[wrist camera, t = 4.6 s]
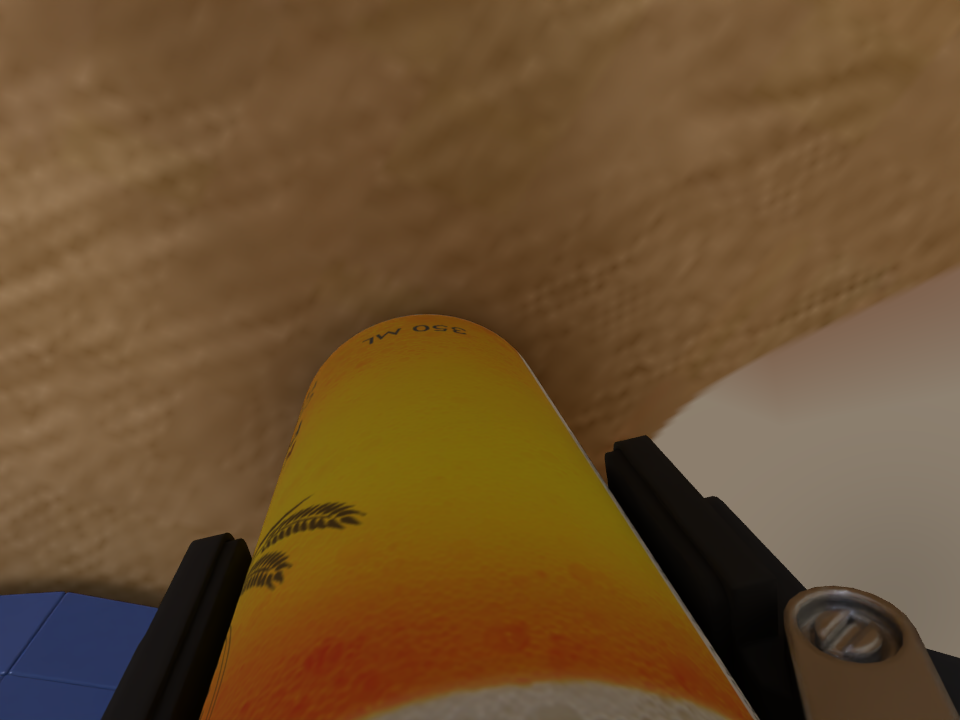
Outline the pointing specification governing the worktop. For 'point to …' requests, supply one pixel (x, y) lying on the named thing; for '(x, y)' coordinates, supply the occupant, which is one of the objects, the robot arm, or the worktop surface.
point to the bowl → (65, 653)
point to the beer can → (453, 557)
